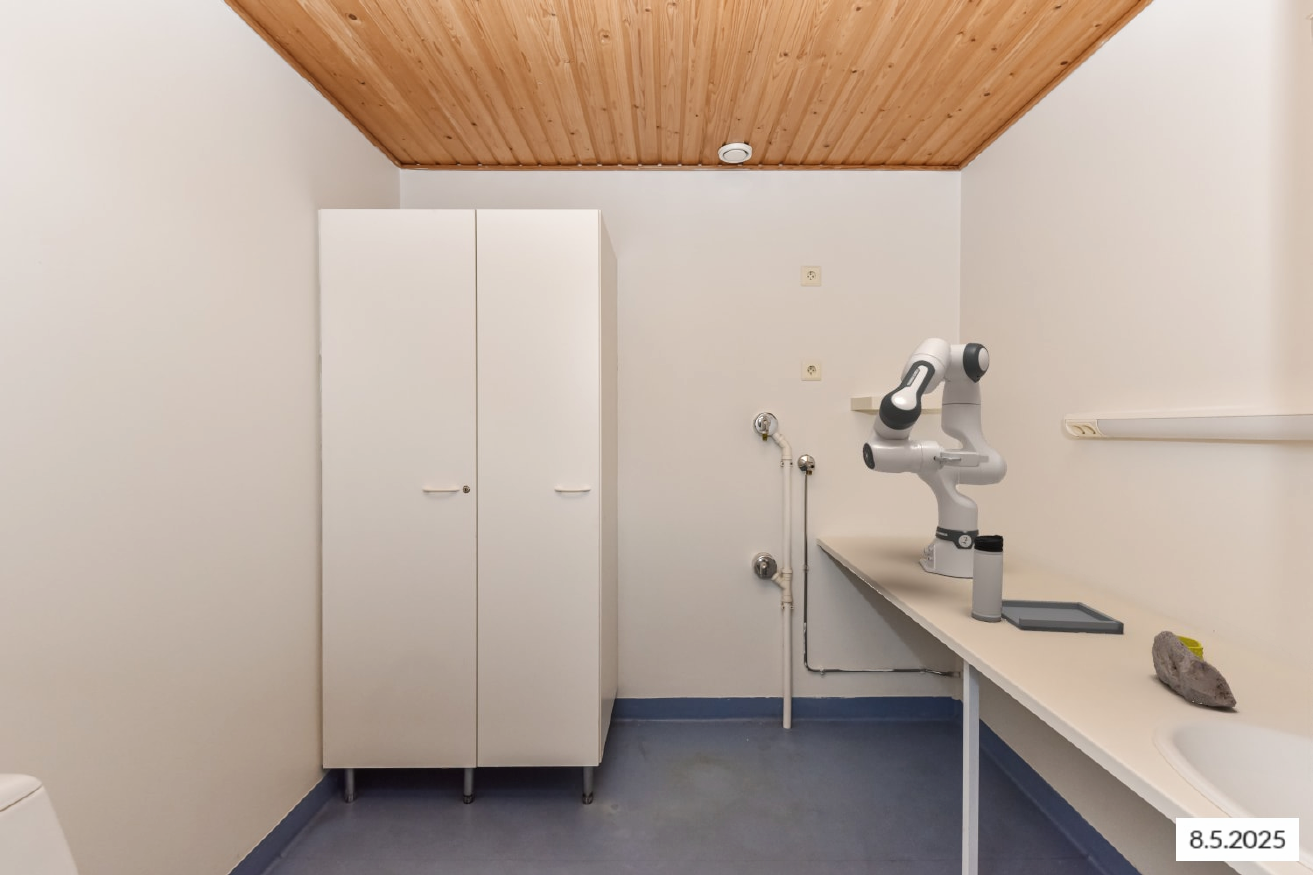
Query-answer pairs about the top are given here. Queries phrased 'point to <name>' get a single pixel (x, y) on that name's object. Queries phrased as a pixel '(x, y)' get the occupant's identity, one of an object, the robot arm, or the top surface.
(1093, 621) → the slate tray
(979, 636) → the top surface
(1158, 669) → the pumice stone
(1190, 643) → the bracelet
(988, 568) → the travel mug
